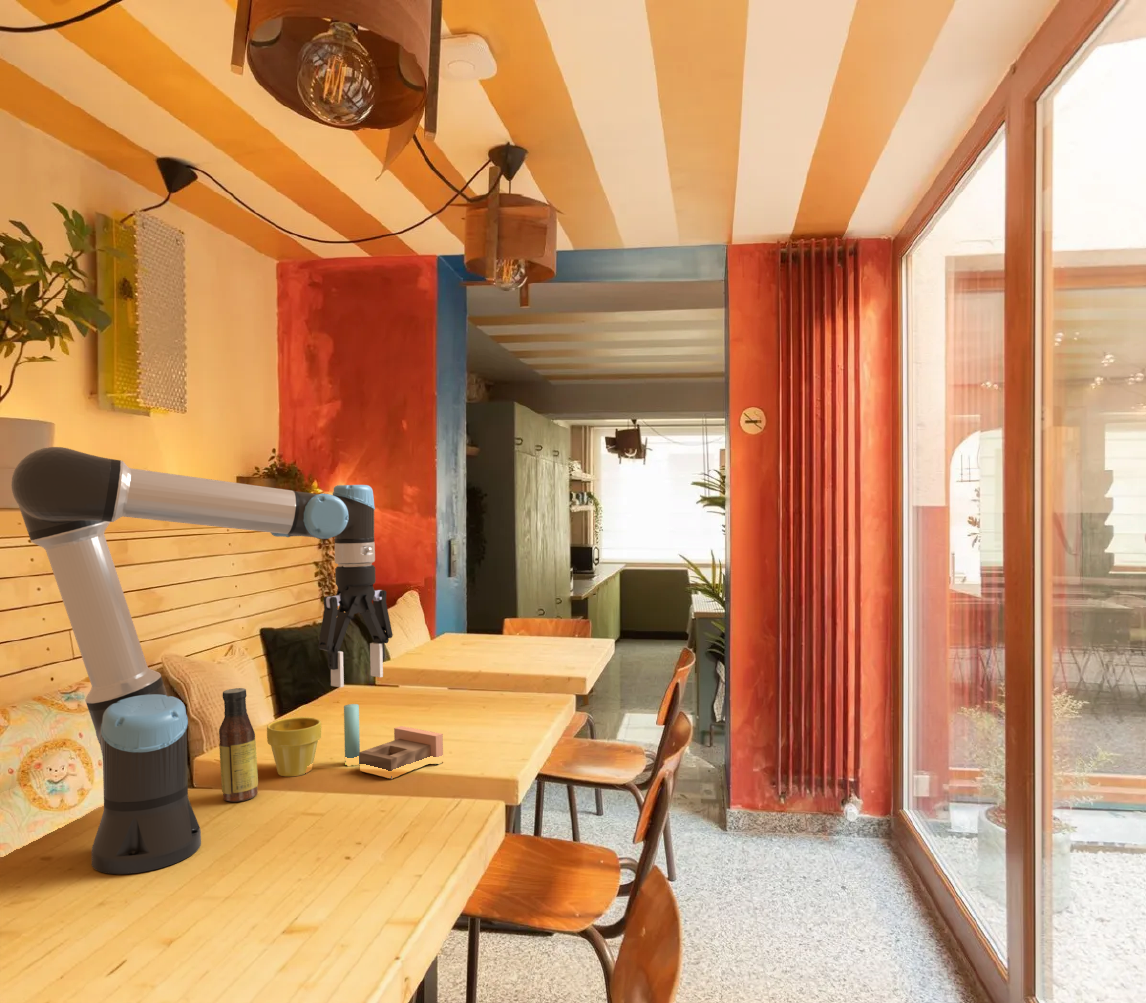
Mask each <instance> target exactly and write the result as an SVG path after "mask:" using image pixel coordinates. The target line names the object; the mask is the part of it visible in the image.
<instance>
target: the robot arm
mask: <svg viewBox="0 0 1146 1003" xmlns="http://www.w3.org/2000/svg"><path fill="white" fill-rule="evenodd" d="M11 491H12V495H13V497H14V500H15V501H16V504H18V508H19V511H20V513H21V516H22V519H23V523H24V526H25V528H26V532H27V534H28V536H29V540H30V542H31V543H32V544H34V545H37V546H39V547H41V548H43V549H44V550H45V552H46V555H47V559H48V561H49V563H50V567H51V571H52V573H53V576H54V579H55V582H56V584H57V587H58V590H59V593H60V597H61V599H62V602H63V605H64V608H65V611H66V614H67V617H68V620H69V623H70V627H71V630H72V632H73V635H74V637H75V640H76V643H77V647H78V650H79V652H80V655H81V658H82V662H83V664H84V667H85V670H86V672H87V677H88V679H89V682H90V685H91V688H90V690H89V692H88V694H87V695H86V697H85V699H84V700H85V703H86V707H87V710H88V713H89V715H90V718H91V722H92V724H93V727H94V730H95V736H96V739H97V741H98V744H99V746H100V751H101V755H102V774H103V776H102V779H103V780H102V781H103V786H102V787H103V813H102V816H101V818H100V821H99V822H100V823H99V826H98V828H97V831H96V835H95V838H94V841H93V844H92V847H91V853H90V854H91V866H92V868H93V869H94V870H95V871H97V872H100V873H105V874H111V875H112V874H113V875H128V874H129V875H130V874H137V873H144V872H150V871H154V870H157V869H161V868H166V867H170V866H171V865H175V864H176V863H179V862H181V861H182V862H183V861H184V860H186V859H187V858H189V857H191V856H192V855H193V854H195V853H197V851H198V850H199V849H200V848H201V845H202V835H201V832H202V831H201V826H200V824H199V822H198V820H197V817H196V814H195V811H194V809H193V807H192V804H191V802H190V800H189V788H188V786H189V785H188V784H189V782H188V780H189V779H188V748H187V747H188V744H187V743H188V742H187V741H188V738H187V735H188V734H187V729H188V724H189V721H188V720H189V719H188V715H187V710H186V706H185V704H184V702H182V700H181V699H179V698H178V697H175V696H173V695H172V696H171V695H168V693H167V689H166V686H165V683H164V680H163V678H162V674H161V673H160V672H158V671H157V670H154V669H152V668H150V667H148V664H147V661H146V658H145V655H144V652H143V648H142V646H141V643H140V639H139V636H138V634H137V630H136V627H135V624H134V621H133V619H132V614H131V613H130V609H129V605H128V603H127V599H126V597H125V593H124V590H123V587H122V584H121V581H120V578H119V575H118V572H117V570H116V567H115V563H114V559H113V556H112V553H111V551H110V548H109V545H108V543H107V538H106V536H105V531H106V530H107V528H108V526H109V525H110V524H111V523H114V522H116V521H117V520H118V519H121V518H122V517H123V518H125V517H126V518H131V519H141V520H143V519H144V520H151V521H152V520H153V521H161V522H171V523H177V524H178V523H180V524H188V525H198V526H199V525H200V526H207V527H219V528H227V529H236V530H244V531H245V530H247V531H253V532H255V531H256V532H264V533H265V532H266V533H270V534H271V536H273V537H279V538H280V537H285V538H291V537H305V538H306V537H307V538H316V539H321V540H328V539H331V538H334V563H335V564H337V566H336V567H335V568H334V572H335V573H334V578H335V580H334V582H335V585H336V587H337V591H336V595H333V596H324V597H323V599H322V600H323V601H322V602H323V607H324V608H323V616H322V620H321V626H320V632H319V637H318V638H319V639H318V646H317V648H318V650H322V651H324V652H327V667H328V670H330V686H331V687H337V688H344V687H345V683H344V682H345V681H344V679H345V678H344V677H345V676H344V675H345V674H344V652H343V651H341V650H340V649H341V647H342V644H343V641H344V639H345V635H346V634H347V631H348V627H349V624H350V621H351V620H352V619H353V618H354V616H355V615H357V614H359V615H361V616H362V618H363V621H364V623H365V625H366V627H367V629H368V631H369V634H370V635H371V639H372V642H370V643H369V654H370V656H369V658H370V659H369V660H370V661H369V662H370V663H369V664H370V677H376V678H383V677H384V663H383V662H384V661H383V659H385V656H386V655H385V644H388V643H389V640H390V639H392V638H393V636H394V634H393V630H392V625H391V621H390V615H389V610H388V604H387V591H386V590H384V589H375V588H374V585H375V583H376V578H377V577H376V566H375V565H374V564H373V563H375V561H376V551H375V550H376V545H375V510H376V507H375V500H374V491H373V488H372V486H370V485H368V484H343V485H342V484H339V485H335V486H334V487H333V492H332V494H328V493H320V494H319V493H312V492H306V491H305V492H304V491H295V490H291V489H284V488H275V487H270V486H260V485H253V484H249V483H248V484H246V483H240V482H233V481H225V480H220V479H219V480H218V479H217V480H216V479H209V478H204V477H196V476H188V475H182V474H181V475H180V474H174V473H168V472H160V471H152V470H146V469H138V468H131V467H129V466H128V465H127V464H126V463H125V461H124V460H120V459H113V458H107V457H103V456H98V455H93V454H89V453H85V452H82V451H79V450H75V449H71V448H68V447H64V446H63V447H61V446H50V447H49V446H48V447H43V448H40V449H37V450H34V451H33V452H30V453H29V454H27V455H25V457H24V458H22V460H20V461H19V463H18V464H17V465H16V468H15V469H14V471H13V473H12V477H11Z"/></svg>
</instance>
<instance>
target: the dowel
mask: <svg viewBox="0 0 1146 1003" xmlns="http://www.w3.org/2000/svg"><path fill="white" fill-rule="evenodd" d="M343 726H344V728H343V729H344V730H343V731H344V734H343V735H344V758H345V757H347V758H354V757H357V756H359V752H361V744H360V742H361V741H360V740H361V739H360V705H359V704H357V703H350V704H346V705H344V706H343Z"/></svg>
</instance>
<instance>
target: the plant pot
mask: <svg viewBox="0 0 1146 1003" xmlns="http://www.w3.org/2000/svg"><path fill="white" fill-rule="evenodd" d="M266 737H267V739H266V740H267V743H268V745H269V746H270V747H271V750H272V752H271V753H272V755H273V760H274V764H275V768H276V772H277V774H278V775H279V776H281V777H289V778H290V777H298V776H299V777H300V776H304V775H306V774H305V772H306V769H307V766H309V765H310V764H312V763H313V764H314V761H315V756H316V750H317V746H318V743H319V740H320V739H322V721H321V720H320V719H319V718H316V717H311V716H296V717H287V718H282V719H278V720H275V721H272V722H270V723H269V724H268V725H267V726H266Z"/></svg>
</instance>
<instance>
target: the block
mask: <svg viewBox="0 0 1146 1003" xmlns="http://www.w3.org/2000/svg"><path fill="white" fill-rule="evenodd" d="M430 756H431V745H428V744H424V743H419V742H414V741H409V740H404V739H397V740H394V739H393V740H391V741H388V742H386V743H383V744H382V743H381V744H380V745H376V746H374V747H370V748H368V749H365V750H362V751H360V752H359V764H366V765H370V766H374V767H378V768H382V769H386V770H388V771H392V770H393V769H396V768H399V767H401V766H404V765H406V764H411V763H413V762H416V761H419V760H422V759H424V758H427V757H430ZM388 780H393V779H392V776H391V778H389V779H388Z"/></svg>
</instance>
